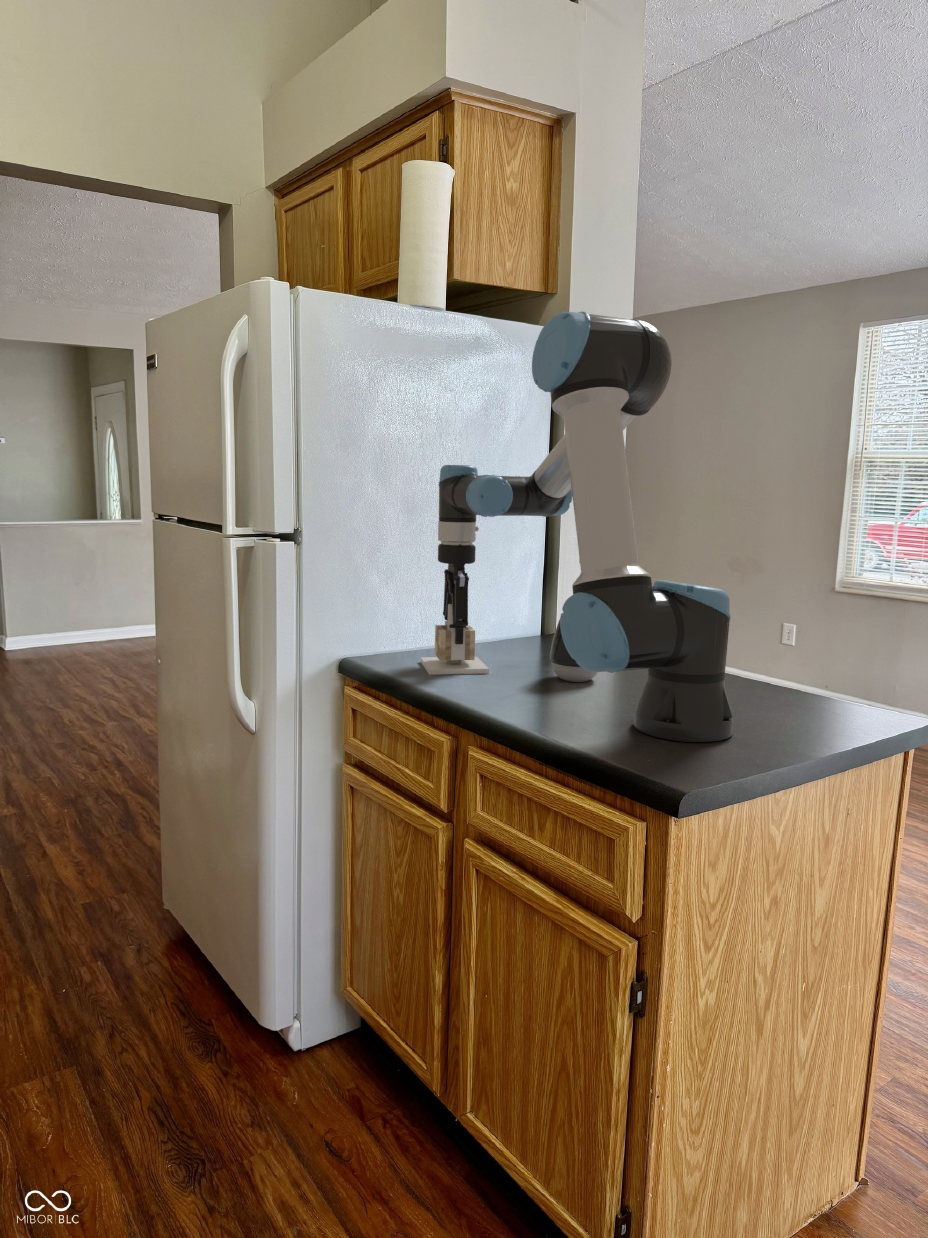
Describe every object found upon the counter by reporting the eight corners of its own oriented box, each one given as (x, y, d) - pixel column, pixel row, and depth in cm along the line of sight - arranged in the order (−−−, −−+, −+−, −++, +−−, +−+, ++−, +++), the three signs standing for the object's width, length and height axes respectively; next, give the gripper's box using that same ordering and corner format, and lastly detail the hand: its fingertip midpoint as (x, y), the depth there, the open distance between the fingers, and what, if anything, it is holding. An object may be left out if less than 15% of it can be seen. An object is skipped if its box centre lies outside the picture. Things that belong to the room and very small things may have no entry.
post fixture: (488, 673, 175) (490, 609, 173) (429, 674, 173) (430, 609, 171) (476, 661, 187) (478, 600, 185) (420, 662, 185) (421, 600, 183)
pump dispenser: (599, 674, 177) (603, 599, 175) (602, 686, 167) (606, 607, 165) (549, 672, 178) (552, 597, 176) (548, 683, 168) (552, 604, 166)
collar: (474, 660, 177) (475, 630, 176) (440, 660, 176) (440, 630, 175) (467, 653, 184) (468, 625, 183) (434, 653, 182) (435, 625, 181)
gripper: (485, 547, 167) (482, 665, 171) (465, 539, 186) (463, 646, 190) (446, 546, 166) (444, 666, 169) (430, 539, 185) (428, 646, 189)
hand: (454, 655), depth 180 cm, fingers closed on collar, 7 cm apart
